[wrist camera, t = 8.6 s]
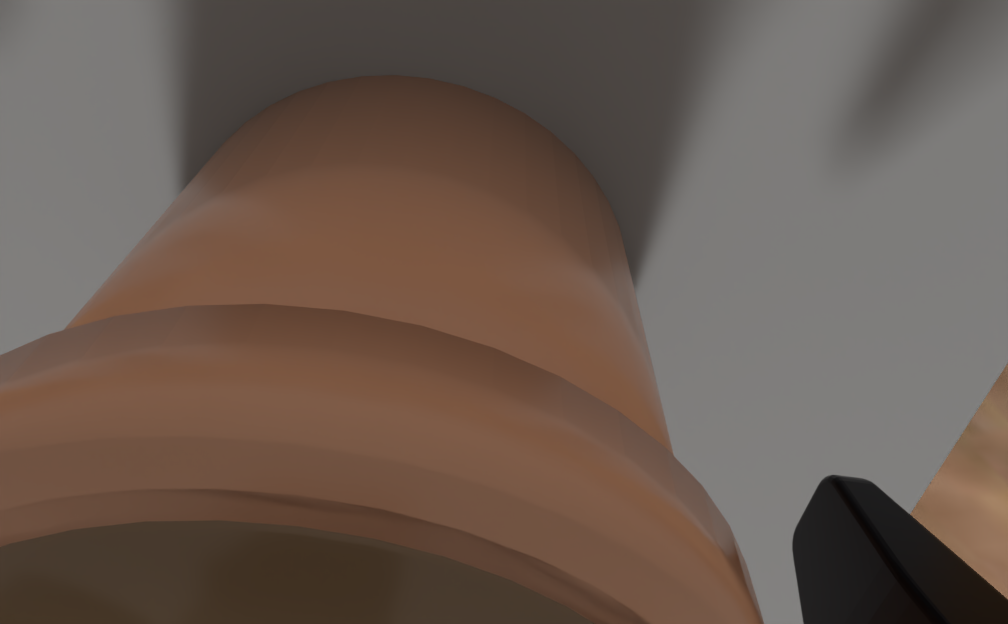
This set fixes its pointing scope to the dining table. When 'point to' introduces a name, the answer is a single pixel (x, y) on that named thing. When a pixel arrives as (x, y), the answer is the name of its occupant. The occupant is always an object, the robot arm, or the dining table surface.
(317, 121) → the pot
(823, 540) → the robot arm
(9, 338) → the grey mat
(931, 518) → the dining table surface
